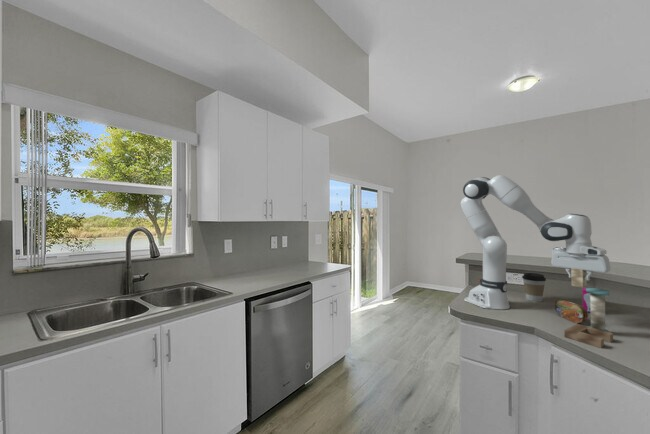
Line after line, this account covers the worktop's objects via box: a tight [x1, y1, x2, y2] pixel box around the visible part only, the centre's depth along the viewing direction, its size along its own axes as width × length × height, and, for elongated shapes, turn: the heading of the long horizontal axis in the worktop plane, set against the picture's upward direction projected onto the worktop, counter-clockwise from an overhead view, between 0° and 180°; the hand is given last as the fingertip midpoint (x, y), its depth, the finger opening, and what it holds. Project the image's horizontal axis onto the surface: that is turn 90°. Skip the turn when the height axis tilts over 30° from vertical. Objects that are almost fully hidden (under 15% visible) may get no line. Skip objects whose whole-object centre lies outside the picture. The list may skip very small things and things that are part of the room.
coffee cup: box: [521, 272, 547, 303], centre depth 161 cm, size 11×11×15 cm
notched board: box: [564, 323, 614, 349], centre depth 111 cm, size 11×12×3 cm
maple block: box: [570, 268, 588, 288], centre depth 127 cm, size 4×4×8 cm
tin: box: [554, 299, 589, 324], centre depth 131 cm, size 15×3×8 cm, turn 1°
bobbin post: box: [585, 287, 610, 332], centre depth 117 cm, size 7×7×18 cm
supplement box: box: [582, 287, 591, 314], centre depth 142 cm, size 6×6×12 cm
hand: (578, 279), depth 127 cm, fingers closed on maple block, 4 cm apart
